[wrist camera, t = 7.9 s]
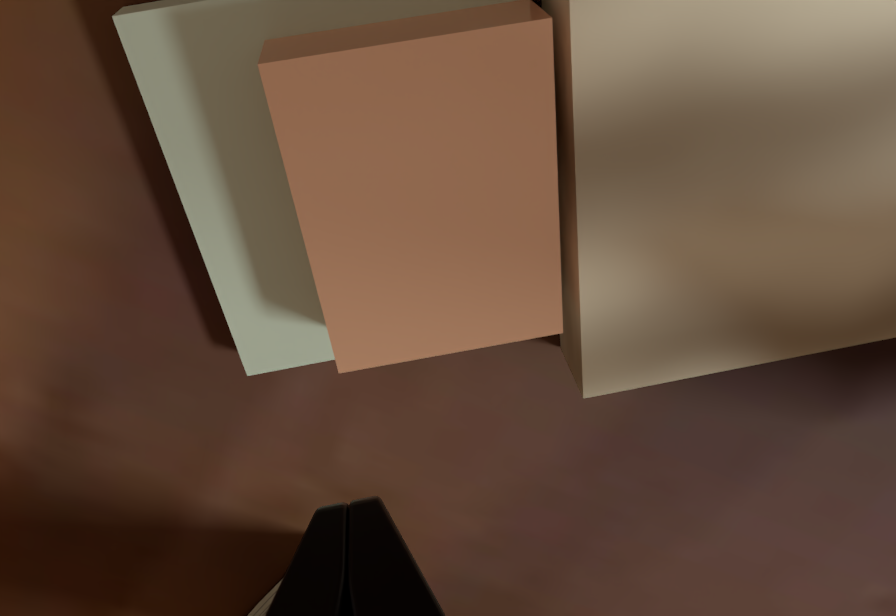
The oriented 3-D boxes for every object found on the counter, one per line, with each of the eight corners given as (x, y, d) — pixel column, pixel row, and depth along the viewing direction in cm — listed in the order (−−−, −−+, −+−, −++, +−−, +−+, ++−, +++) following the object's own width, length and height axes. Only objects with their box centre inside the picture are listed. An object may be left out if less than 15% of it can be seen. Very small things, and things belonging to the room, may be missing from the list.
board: (945, 274, 24) (1003, 316, 22) (560, 348, 23) (583, 398, 21) (1108, -261, 16) (1224, -274, 14) (531, -167, 15) (563, -167, 13)
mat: (541, 300, 22) (550, 318, 21) (250, 355, 22) (247, 375, 21) (516, -60, 17) (526, -54, 16) (122, 6, 16) (111, 16, 15)
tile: (544, 293, 21) (563, 333, 19) (337, 329, 20) (338, 373, 19) (529, -2, 16) (552, 17, 15) (264, 39, 16) (257, 64, 14)
